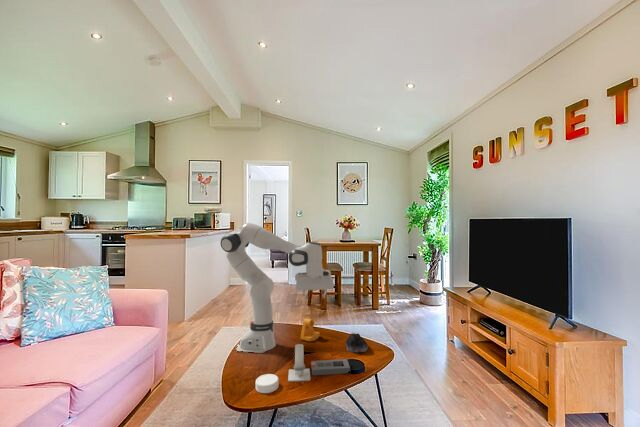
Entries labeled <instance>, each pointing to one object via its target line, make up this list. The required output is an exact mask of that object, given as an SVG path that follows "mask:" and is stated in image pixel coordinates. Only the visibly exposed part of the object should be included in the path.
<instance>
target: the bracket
mask: <svg viewBox="0 0 640 427" xmlns="http://www.w3.org/2000/svg"><path fill="white" fill-rule="evenodd" d="M314 326H315V320H314V319H313V318H308V317H305V318H304V319H303V322H302V327H301V332H300V339H301V340H303V341H306V342H314V341H317V339H319V337H320V336H321V334H320V332H319V331H315V329H314Z"/></svg>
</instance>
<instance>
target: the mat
mask: <svg viewBox="0 0 640 427" xmlns="http://www.w3.org/2000/svg"><path fill="white" fill-rule="evenodd" d="M310 370H311V369H310V368H305V369H304V375H302V376H296V375H295V370H294V369H291V368H290V369H288V375H287V376H288V378H287V382H288V383H293V382H309V381H311V371H310Z"/></svg>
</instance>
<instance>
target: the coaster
mask: <svg viewBox="0 0 640 427" xmlns="http://www.w3.org/2000/svg"><path fill="white" fill-rule="evenodd" d="M279 380H280V379H279V377H278V376H277V375H276V374H272V373H266V374H262V375H259V376H258V377H257V378H256V379H255V390H256V391H257V392H258V393H260V394H270V393H272V392H275V391H276V390H277V389H278V388H279V386H280V385H279V383H280V382H279Z"/></svg>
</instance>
